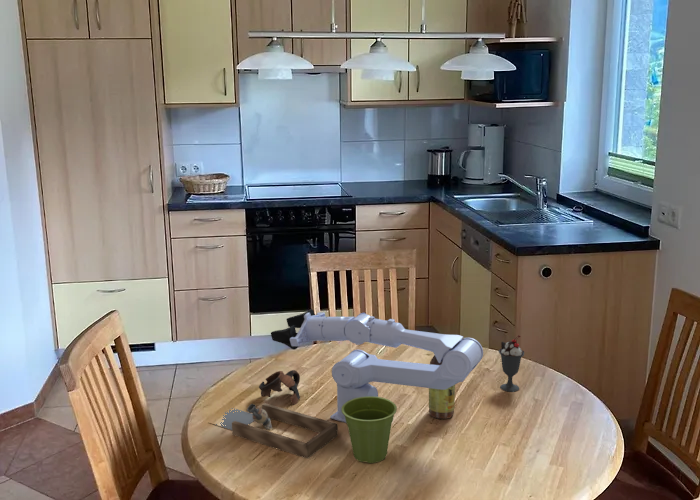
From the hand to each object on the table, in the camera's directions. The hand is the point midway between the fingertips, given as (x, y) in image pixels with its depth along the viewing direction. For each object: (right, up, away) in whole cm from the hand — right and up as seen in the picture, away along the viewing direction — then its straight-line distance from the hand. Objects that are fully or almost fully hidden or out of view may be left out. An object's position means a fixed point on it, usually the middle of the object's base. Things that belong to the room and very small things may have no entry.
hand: (280, 329), depth 180 cm
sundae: (+59, -17, +11) cm, 63 cm away
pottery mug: (0, -19, +6) cm, 20 cm away
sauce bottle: (+40, -21, -4) cm, 45 cm away
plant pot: (+22, -25, -23) cm, 40 cm away
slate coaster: (-10, -21, -5) cm, 25 cm away
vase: (-4, -22, -9) cm, 24 cm away
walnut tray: (+2, -23, -13) cm, 27 cm away
